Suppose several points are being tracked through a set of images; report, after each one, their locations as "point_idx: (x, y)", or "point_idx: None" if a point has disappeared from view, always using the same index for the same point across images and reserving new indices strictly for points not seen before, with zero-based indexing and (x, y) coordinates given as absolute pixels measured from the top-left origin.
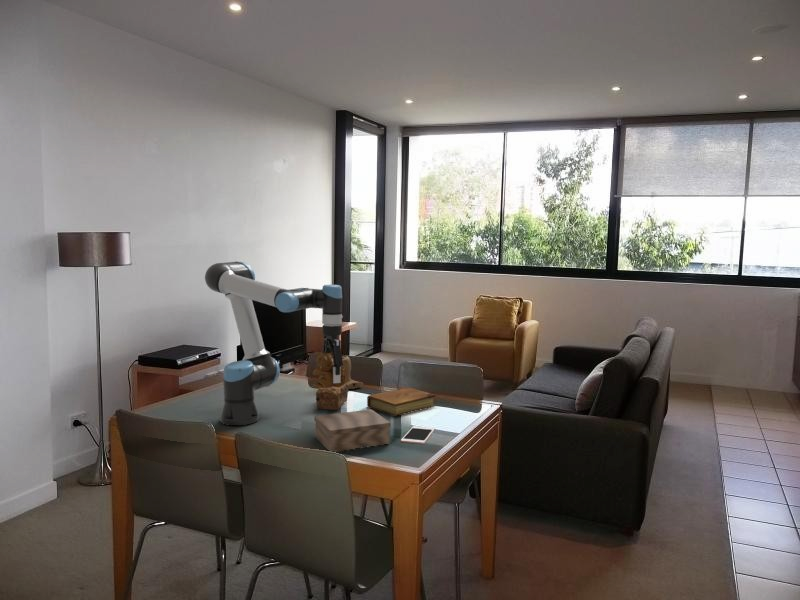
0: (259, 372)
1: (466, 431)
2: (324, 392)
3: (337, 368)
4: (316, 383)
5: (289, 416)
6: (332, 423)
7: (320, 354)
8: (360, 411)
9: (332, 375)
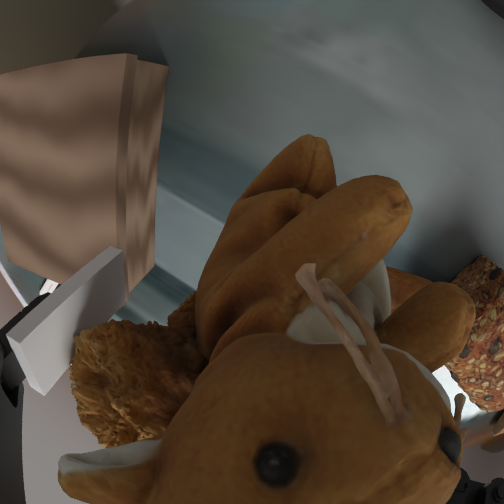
0: None
1: None
2: (485, 311)
3: (6, 336)
4: (300, 162)
5: (479, 114)
6: (30, 100)
7: None
8: None
9: (196, 325)
